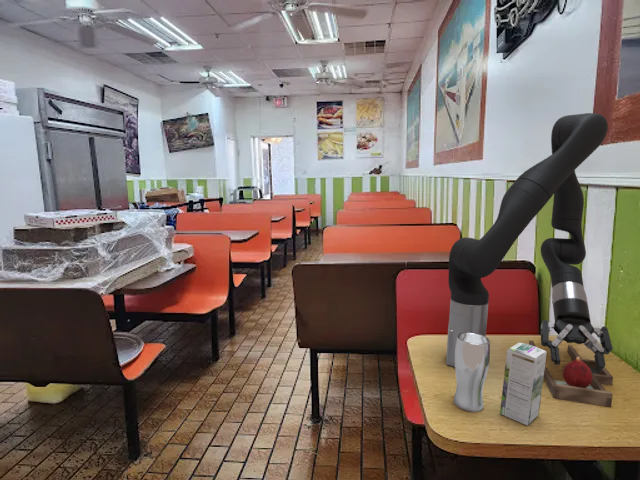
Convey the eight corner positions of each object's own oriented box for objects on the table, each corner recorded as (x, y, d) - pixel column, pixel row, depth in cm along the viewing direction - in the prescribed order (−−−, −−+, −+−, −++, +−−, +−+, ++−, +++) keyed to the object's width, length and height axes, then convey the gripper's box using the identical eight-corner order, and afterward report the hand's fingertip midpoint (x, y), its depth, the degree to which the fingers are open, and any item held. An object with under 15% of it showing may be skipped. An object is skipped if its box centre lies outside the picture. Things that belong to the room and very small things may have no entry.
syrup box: (511, 404, 88) (517, 340, 86) (540, 416, 84) (547, 349, 82) (499, 414, 84) (505, 348, 82) (529, 427, 80) (536, 357, 78)
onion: (595, 397, 91) (598, 363, 90) (567, 395, 92) (569, 361, 91) (584, 385, 96) (587, 353, 95) (558, 383, 98) (560, 351, 97)
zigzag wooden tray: (534, 395, 92) (535, 382, 92) (513, 344, 121) (514, 335, 120) (632, 410, 87) (634, 397, 86) (587, 354, 115) (588, 344, 115)
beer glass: (447, 395, 91) (452, 331, 89) (478, 396, 91) (484, 332, 89) (456, 412, 85) (461, 344, 82) (490, 413, 84) (496, 345, 82)
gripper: (541, 293, 101) (547, 356, 92) (608, 299, 97) (621, 365, 88) (535, 308, 107) (540, 367, 98) (597, 314, 103) (608, 377, 94)
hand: (578, 366), depth 93 cm, fingers open, 8 cm apart
